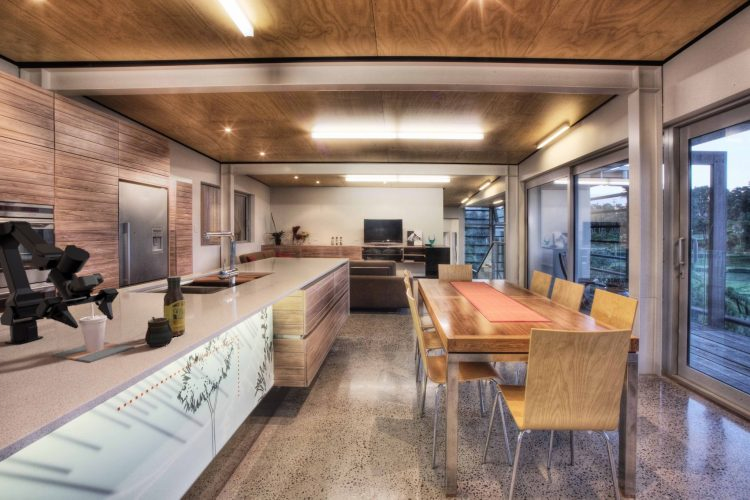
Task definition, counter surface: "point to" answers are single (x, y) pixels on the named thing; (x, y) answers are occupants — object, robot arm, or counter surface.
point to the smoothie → (93, 331)
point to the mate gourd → (158, 332)
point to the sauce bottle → (175, 306)
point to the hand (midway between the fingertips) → (95, 323)
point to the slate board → (85, 356)
